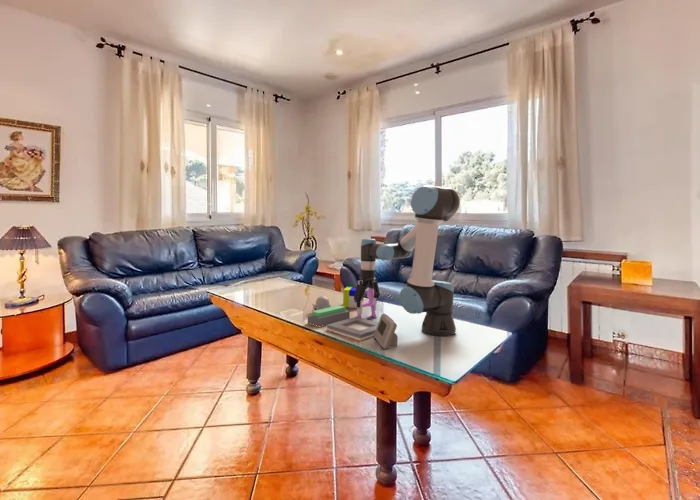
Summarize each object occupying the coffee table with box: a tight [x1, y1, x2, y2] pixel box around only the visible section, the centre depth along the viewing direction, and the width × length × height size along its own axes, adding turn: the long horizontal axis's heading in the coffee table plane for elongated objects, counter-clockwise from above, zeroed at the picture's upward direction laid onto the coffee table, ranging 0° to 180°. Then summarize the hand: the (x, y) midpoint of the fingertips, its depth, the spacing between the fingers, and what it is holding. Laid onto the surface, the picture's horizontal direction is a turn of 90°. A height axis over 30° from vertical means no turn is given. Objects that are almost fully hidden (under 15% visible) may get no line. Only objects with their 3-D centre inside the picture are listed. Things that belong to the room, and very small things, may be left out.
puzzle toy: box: [342, 286, 364, 309], centre depth 216 cm, size 10×10×10 cm
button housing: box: [307, 309, 351, 327], centre depth 183 cm, size 8×21×4 cm, turn 137°
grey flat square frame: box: [326, 316, 379, 342], centre depth 169 cm, size 20×20×2 cm
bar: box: [311, 305, 347, 318], centre depth 183 cm, size 5×18×3 cm, turn 137°
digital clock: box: [373, 313, 399, 350], centre depth 152 cm, size 16×9×11 cm, turn 179°
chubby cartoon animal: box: [311, 295, 332, 312], centre depth 199 cm, size 7×12×8 cm, turn 140°
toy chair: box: [356, 288, 378, 319], centre depth 191 cm, size 8×9×15 cm
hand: (366, 311), depth 191 cm, fingers open, 10 cm apart
